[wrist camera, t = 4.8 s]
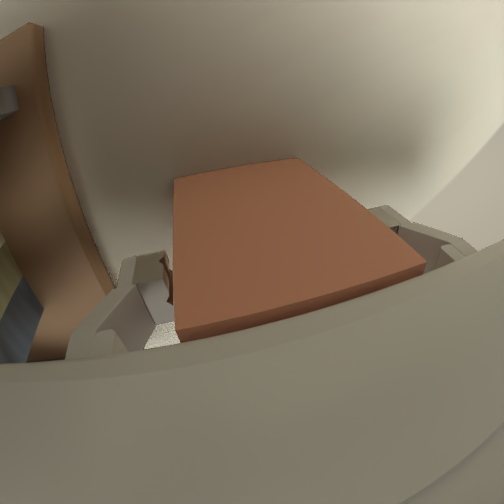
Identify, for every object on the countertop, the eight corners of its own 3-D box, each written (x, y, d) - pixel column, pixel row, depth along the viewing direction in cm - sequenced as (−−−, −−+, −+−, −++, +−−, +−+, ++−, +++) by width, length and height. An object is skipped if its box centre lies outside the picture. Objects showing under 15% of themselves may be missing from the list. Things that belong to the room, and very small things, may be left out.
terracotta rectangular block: (174, 178, 12) (175, 330, 5) (297, 157, 13) (427, 261, 6) (187, 233, 14) (208, 397, 7) (298, 211, 15) (398, 336, 8)
